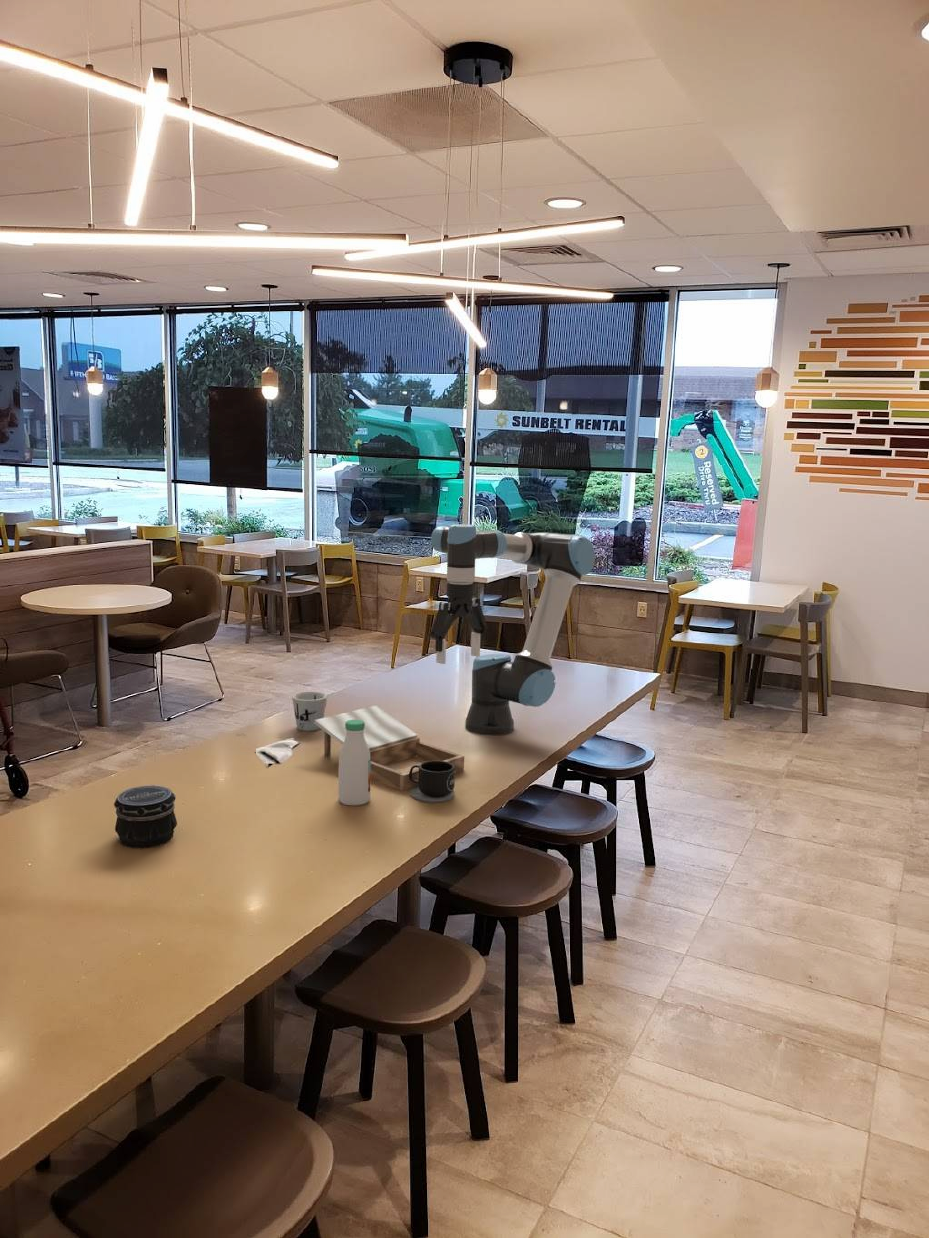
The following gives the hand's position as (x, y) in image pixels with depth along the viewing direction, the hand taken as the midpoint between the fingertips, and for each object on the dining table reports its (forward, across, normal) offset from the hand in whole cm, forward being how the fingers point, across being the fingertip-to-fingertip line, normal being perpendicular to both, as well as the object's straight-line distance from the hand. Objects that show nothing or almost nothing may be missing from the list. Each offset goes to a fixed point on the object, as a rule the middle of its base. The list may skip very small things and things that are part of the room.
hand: (458, 659), depth 254 cm
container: (+29, +87, -10) cm, 92 cm away
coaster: (+29, +23, +14) cm, 39 cm away
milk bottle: (+29, +40, +4) cm, 50 cm away
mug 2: (+28, +24, +14) cm, 39 cm away
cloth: (+30, +32, -39) cm, 58 cm away
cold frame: (+29, +15, -11) cm, 34 cm away
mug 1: (+29, +9, -52) cm, 60 cm away
